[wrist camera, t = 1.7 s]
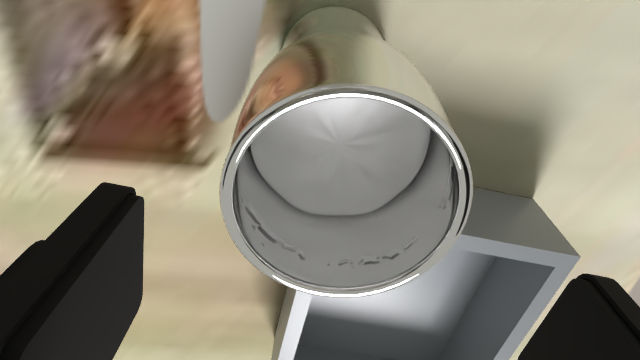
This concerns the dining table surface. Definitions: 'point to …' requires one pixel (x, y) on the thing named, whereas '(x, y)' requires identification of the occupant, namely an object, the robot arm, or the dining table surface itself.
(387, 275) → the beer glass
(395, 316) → the box
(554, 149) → the dining table surface
